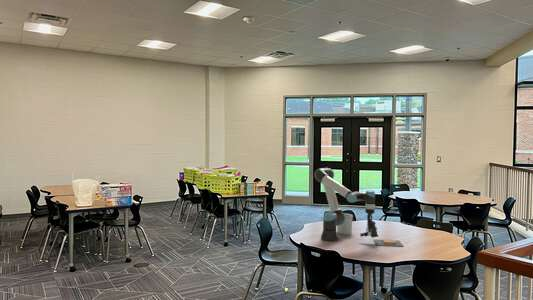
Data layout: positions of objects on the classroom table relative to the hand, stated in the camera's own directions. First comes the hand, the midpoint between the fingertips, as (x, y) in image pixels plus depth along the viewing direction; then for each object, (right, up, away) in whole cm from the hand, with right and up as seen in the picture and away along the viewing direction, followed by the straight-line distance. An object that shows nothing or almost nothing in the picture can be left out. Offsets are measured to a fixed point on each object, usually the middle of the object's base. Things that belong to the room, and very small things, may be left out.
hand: (369, 235), depth 339 cm
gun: (0, -2, 0) cm, 2 cm away
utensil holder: (-14, -6, +35) cm, 38 cm away
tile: (+12, -5, -2) cm, 13 cm away
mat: (+16, -7, -2) cm, 17 cm away
